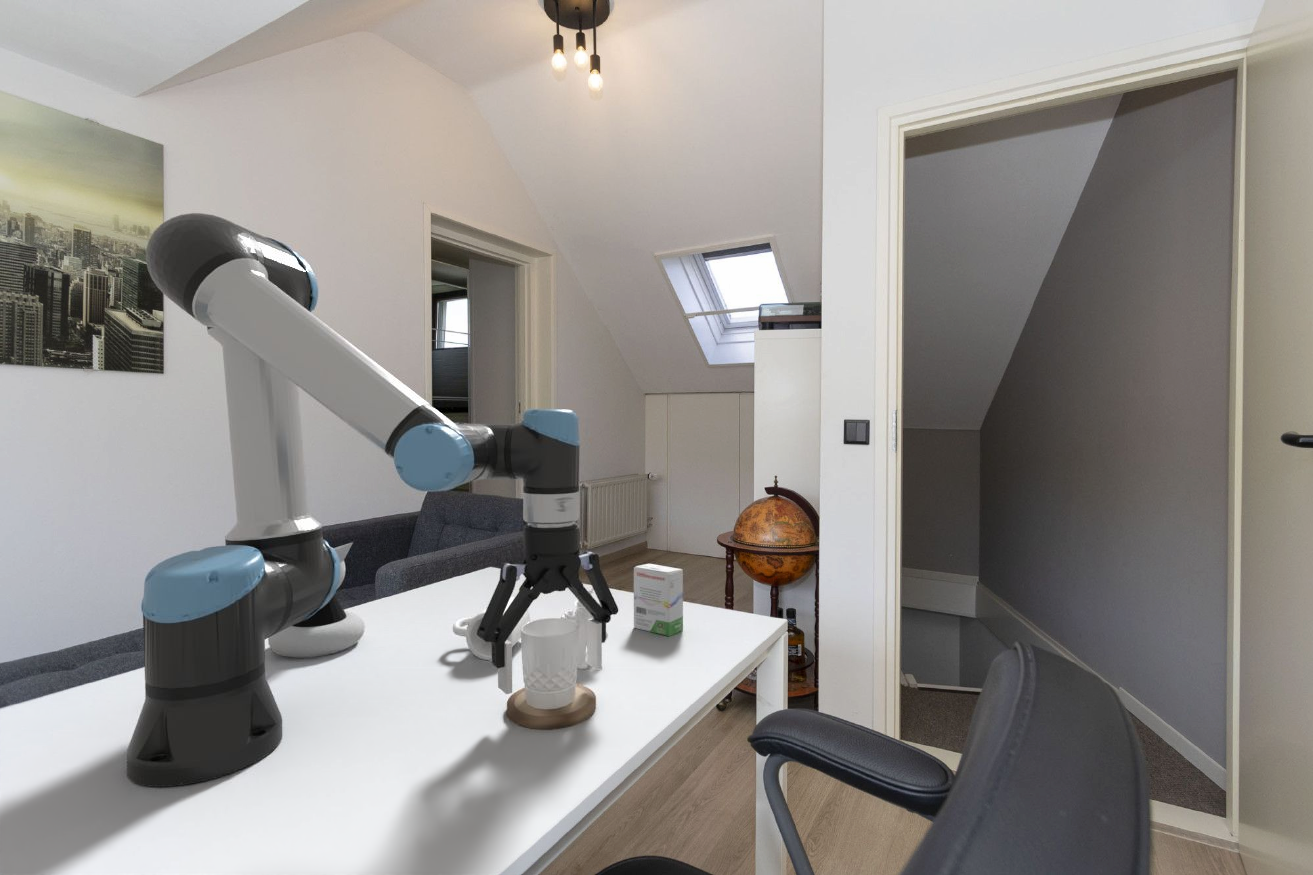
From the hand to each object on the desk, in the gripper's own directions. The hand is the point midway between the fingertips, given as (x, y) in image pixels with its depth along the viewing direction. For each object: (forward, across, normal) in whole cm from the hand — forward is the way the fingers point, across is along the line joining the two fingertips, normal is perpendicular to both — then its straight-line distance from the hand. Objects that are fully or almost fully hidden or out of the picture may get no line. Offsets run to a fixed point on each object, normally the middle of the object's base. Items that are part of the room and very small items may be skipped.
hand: (551, 677), depth 88 cm
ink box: (+4, +32, +18) cm, 37 cm away
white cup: (+3, 0, 0) cm, 3 cm away
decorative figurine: (+4, -21, +46) cm, 51 cm away
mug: (+4, +2, +27) cm, 27 cm away
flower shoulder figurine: (+4, +12, +11) cm, 17 cm away
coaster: (+4, 0, 0) cm, 4 cm away
